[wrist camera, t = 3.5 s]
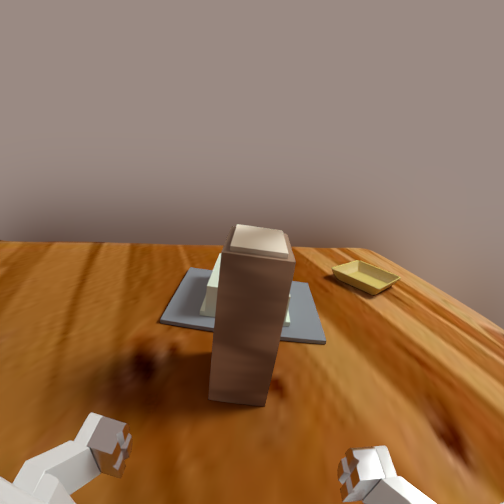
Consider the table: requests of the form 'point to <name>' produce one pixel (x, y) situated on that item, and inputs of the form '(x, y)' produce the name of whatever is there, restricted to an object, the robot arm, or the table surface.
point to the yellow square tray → (365, 276)
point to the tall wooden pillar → (249, 313)
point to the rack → (211, 295)
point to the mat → (188, 315)
